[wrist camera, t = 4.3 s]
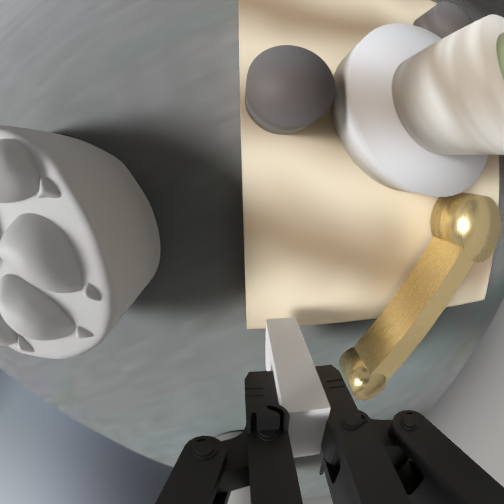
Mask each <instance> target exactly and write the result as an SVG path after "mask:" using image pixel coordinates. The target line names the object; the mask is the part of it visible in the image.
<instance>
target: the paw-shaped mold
mask: <svg viewBox="0 0 504 504" xmlns="http://www.w3.org/2000/svg"><path fill="white" fill-rule="evenodd" d="M160 254H161V245H160V237H159V231H158V227H157V223H156V219H155V216H154V213H153V210H152V208H151V205H150V203H149V201H148V199H147V198H146V196H145V194H144V193H143V191H142V189H141V188H140V186H139V185H138V183H137V182H136V180H135V179H134V177H133V176H132V174H131V173H130V171H129V170H128V169H127V167H126V166H125V165H124V164H123V163H122V162H121V161H120V160H119V159H117V158H116V157H114V156H113V155H111V154H109V153H108V152H106V151H104V150H102V149H100V148H98V147H96V146H94V145H92V144H89V143H87V142H85V141H82V140H79V139H76V138H73V137H68V136H65V135H61V134H57V133H51V132H45V131H39V130H32V129H26V128H19V127H12V126H3V125H0V346H6V345H8V346H9V347H11V348H13V349H14V350H16V351H18V352H21V353H24V354H27V355H32V356H37V357H43V358H52V359H65V358H70V357H74V356H77V355H80V354H83V353H85V352H87V351H89V350H91V349H92V348H94V347H95V346H97V345H98V344H100V343H101V342H102V341H103V340H104V339H105V338H106V337H107V335H108V334H109V333H110V331H111V330H112V329H113V328H114V326H115V325H116V324H117V323H118V321H119V320H120V319H121V318H122V316H123V315H124V314H125V312H126V311H127V310H128V309H129V307H130V306H131V305H132V304H133V302H134V301H135V300H136V298H137V297H138V296H139V295H140V293H141V292H142V291H143V289H144V288H145V287H146V286H147V284H148V283H149V282H150V281H151V279H152V278H153V276H154V275H155V273H156V270H157V268H158V265H159V261H160Z"/></svg>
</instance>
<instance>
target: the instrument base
mask: <svg viewBox="0 0 504 504" xmlns="http://www.w3.org/2000/svg"><path fill="white" fill-rule="evenodd" d="M238 5H239V70H240V119H241V160H242V197H243V231H244V263H245V292H246V317H247V329H258V328H266V319H275V318H294V317H295V318H296V320H297V323H298V325H299V326H305V325H317V324H329V323H339V322H348V321H357V320H366V319H374V318H378V317H379V315H380V314H381V313H382V311H383V310H384V309H385V307H386V306H387V305H388V303H389V302H390V301H391V299H392V298H393V297H394V295H395V294H396V292H397V291H398V290H399V288H400V287H401V285H402V284H403V283H404V281H405V280H406V278H407V277H408V275H409V274H410V272H411V271H412V269H413V268H414V266H415V265H416V263H417V262H418V260H419V259H420V257H421V256H422V254H423V252H424V251H425V249H426V248H427V246H428V244H429V243H430V241H431V239H432V238H433V236H432V233H431V227H430V219H431V213H432V209H433V206H434V204H435V202H436V201H437V199H438V198H439V197H448V196H453V195H456V194H458V193H461V192H463V193H470V194H476V195H482V196H488V197H490V198H492V199H493V200H494V201H495V203H496V204H497V206H498V203H499V155H504V18H503V17H501V16H498V15H492V14H491V15H488V16H486V17H483V18H481V19H479V20H477V21H475V22H473V21H472V19H471V18H470V17H469V16H468V14H467V13H466V12H465V11H463V10H462V9H461V8H460V7H458V6H457V5H455V4H454V3H451V2H449V1H441V2H440V3H438V4H437V3H435V2H433V1H430V0H238ZM493 253H494V252H493ZM492 259H493V254H492V255H491V256H490V257H489V258H488V259H487V260H485V261H483V262H479V263H477V262H474V263H473V265H472V266H471V268H470V270H469V272H468V273H467V275H466V277H465V278H464V280H463V281H462V283H461V285H460V286H459V288H458V289H457V291H456V293H455V294H454V296H453V297H452V299H451V300H450V302H449V303H448V305H447V306H446V307H450V306H455V305H461V304H466V303H470V302H475V301H480V300H484V299H485V295H486V290H487V286H488V281H489V276H490V271H491V265H492Z"/></svg>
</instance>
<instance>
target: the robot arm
mask: <svg viewBox="0 0 504 504" xmlns="http://www.w3.org/2000/svg"><path fill="white" fill-rule="evenodd" d="M265 363H266V369H267V371H260V372H249V373H248V375H247V376H246V378H245V403H246V427H245V429H244V431H243V432H242V433H241V434H239V435H238V436H236V437H234V438H231V439H228V440H224V441H220V440H219V439H217V438H214V437H212V436H200V437H195V438H193V439H192V440H190V441H188V443H187V444H186V445H185V446H184V448H183V450H182V452H181V454H180V456H179V458H178V460H177V462H176V464H175V466H174V468H173V470H172V472H171V474H170V476H169V478H168V480H167V482H166V484H165V486H164V488H163V489H162V491H161V493H160V495H159V497H158V499H157V501H156V503H155V504H227V503H228V500H229V497H230V494H231V491H234V490H237V489H241V488H244V487H247V486H250V499H251V504H303V502H302V497H301V492H300V487H299V482H298V477H297V472H296V467H295V462H294V457H303V456H310V455H317V454H320V451H321V447H322V450H323V453H324V458H323V461H322V465H321V468H320V475H322V474H323V472H325V475H326V479H327V482H328V486H329V490H330V493H331V497H332V500H333V504H504V488H503V486H501V485H500V484H499V483H498V482H497V481H495V480H494V479H493V478H492V477H491V476H490V475H489V474H488V473H487V472H485V471H484V470H483V469H482V468H481V467H480V466H479V465H478V464H476V463H475V462H474V461H473V460H472V459H471V458H470V457H469V456H468V455H466V454H465V453H464V452H463V451H462V450H461V449H460V448H459V447H457V446H456V445H455V444H454V443H453V442H452V441H451V440H450V439H448V438H447V437H446V436H445V435H444V434H443V433H442V432H441V431H440V430H438V429H437V428H436V427H435V426H434V425H433V424H432V423H431V422H429V421H428V420H427V419H426V418H425V417H424V416H423V415H421V414H420V413H418V412H416V411H412V410H405V411H401V412H399V413H398V414H396V415H395V416H394V418H393V420H374V419H370V418H369V417H368V415H367V414H366V413H364V412H362V411H360V410H358V409H357V407H356V405H355V403H354V401H353V399H352V397H351V394H350V392H349V390H348V388H347V387H346V384H345V382H344V380H343V378H342V376H341V374H340V372H339V371H338V370H337V369H336V368H335V367H333V366H332V365H325V366H316V367H315V366H314V363H313V361H312V358H311V356H310V353H309V350H308V348H307V345H306V343H305V340H304V338H303V335H302V333H301V330H300V328H299V325H298V323H297V320H296V318H295V317H294V318H275V319H266V361H265Z"/></svg>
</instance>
